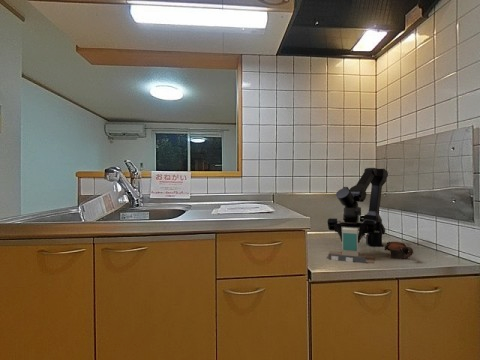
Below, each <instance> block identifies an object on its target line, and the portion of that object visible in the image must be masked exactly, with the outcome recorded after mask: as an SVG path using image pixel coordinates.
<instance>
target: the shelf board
mask: <svg viewBox="0 0 480 360" xmlns="http://www.w3.org/2000/svg"><path fill="white" fill-rule="evenodd" d="M328 254H336V255H342V251H332V250H330V251H329V253H328ZM358 257H366V263H365V264H367V263H368V264H375V255H374V254H366V253H364V254H363V253H358ZM326 259H327V260H329V258H328V255H327V256H326Z"/></svg>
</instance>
